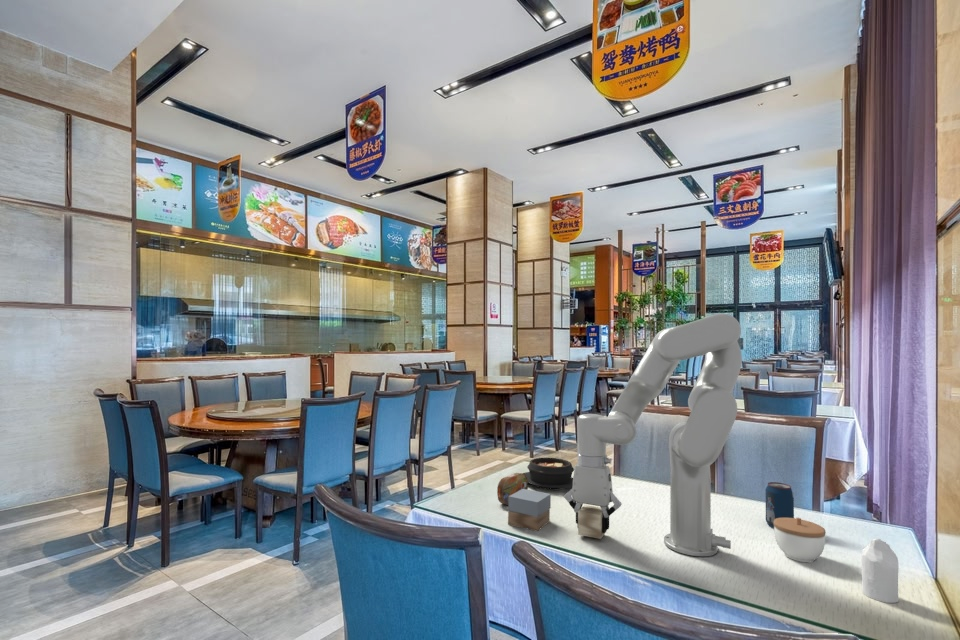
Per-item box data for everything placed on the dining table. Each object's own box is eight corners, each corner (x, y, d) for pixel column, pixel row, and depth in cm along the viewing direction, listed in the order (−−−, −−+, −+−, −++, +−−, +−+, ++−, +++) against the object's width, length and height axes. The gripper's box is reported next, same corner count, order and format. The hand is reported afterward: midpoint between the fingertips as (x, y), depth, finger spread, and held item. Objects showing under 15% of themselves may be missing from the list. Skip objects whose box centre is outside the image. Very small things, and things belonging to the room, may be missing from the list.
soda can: (796, 527, 138) (795, 485, 139) (791, 533, 133) (790, 490, 134) (768, 521, 143) (768, 480, 144) (763, 527, 138) (762, 484, 139)
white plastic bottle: (891, 535, 102) (903, 545, 97) (892, 593, 102) (904, 606, 96) (856, 530, 104) (867, 540, 99) (857, 587, 104) (868, 600, 98)
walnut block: (549, 522, 139) (549, 507, 139) (537, 532, 131) (537, 517, 132) (521, 516, 144) (521, 502, 144) (508, 525, 136) (508, 511, 136)
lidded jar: (764, 547, 124) (764, 510, 125) (807, 548, 124) (806, 511, 124) (790, 566, 113) (789, 525, 114) (836, 567, 113) (836, 527, 114)
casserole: (507, 485, 174) (508, 461, 175) (530, 474, 190) (531, 452, 190) (573, 498, 161) (573, 472, 161) (592, 485, 177) (592, 462, 177)
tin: (503, 508, 149) (503, 480, 150) (495, 506, 151) (495, 478, 152) (528, 496, 161) (529, 471, 162) (520, 494, 163) (521, 469, 164)
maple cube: (606, 531, 130) (606, 508, 130) (600, 538, 125) (600, 515, 125) (584, 527, 133) (584, 505, 133) (578, 534, 127) (577, 511, 128)
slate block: (550, 508, 139) (550, 494, 140) (537, 517, 132) (537, 502, 132) (522, 502, 144) (522, 488, 144) (508, 510, 136) (508, 496, 137)
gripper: (627, 461, 129) (628, 530, 128) (565, 454, 137) (566, 519, 136) (621, 467, 122) (622, 540, 121) (556, 459, 131) (556, 527, 130)
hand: (592, 528), depth 129 cm, fingers closed on maple cube, 6 cm apart
